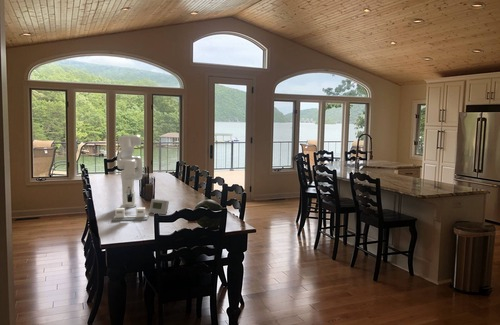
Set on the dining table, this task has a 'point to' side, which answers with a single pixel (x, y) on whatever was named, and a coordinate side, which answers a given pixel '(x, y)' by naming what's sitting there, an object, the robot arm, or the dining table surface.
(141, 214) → the rail panel
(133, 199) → the module
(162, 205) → the digital clock
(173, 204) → the dining table surface
